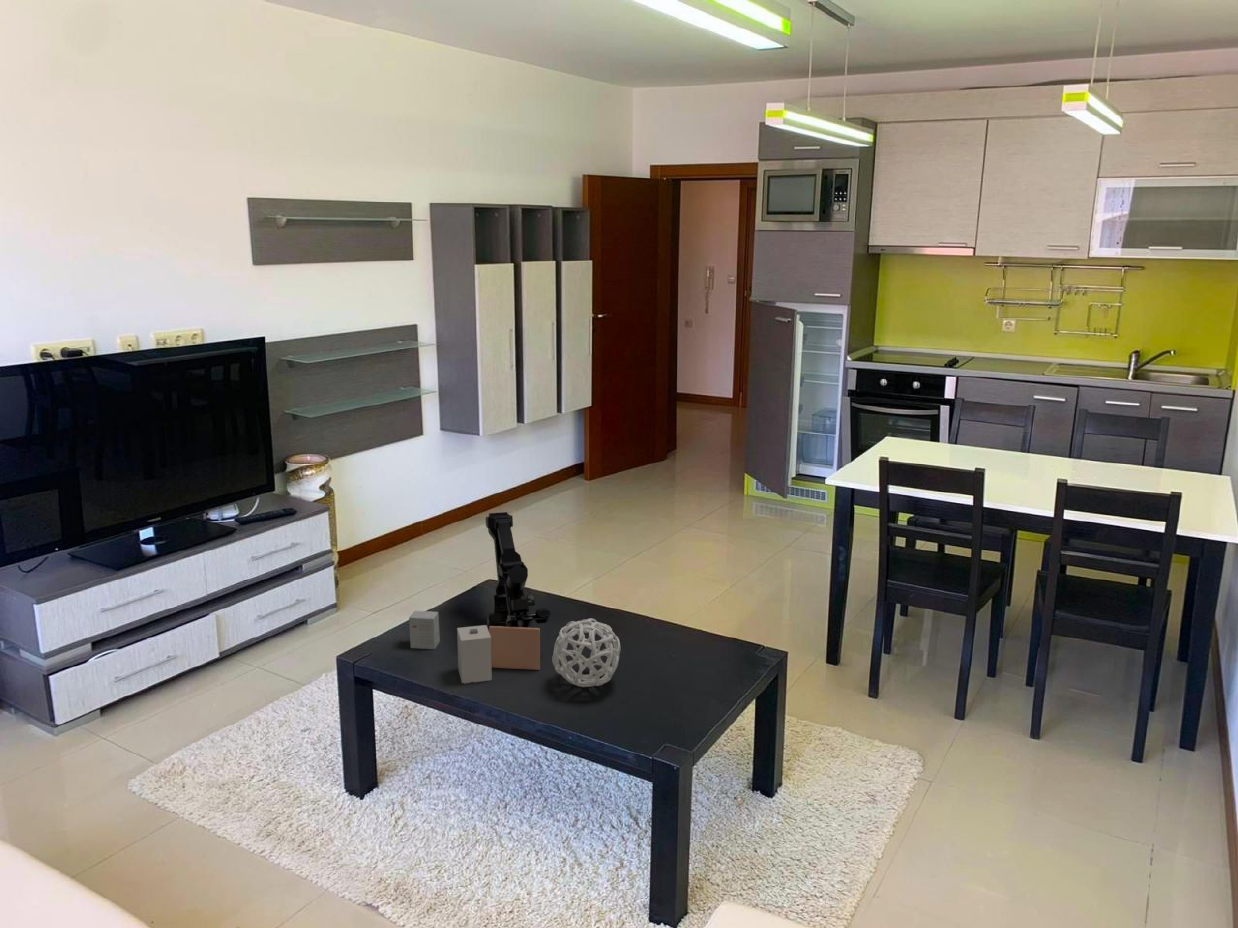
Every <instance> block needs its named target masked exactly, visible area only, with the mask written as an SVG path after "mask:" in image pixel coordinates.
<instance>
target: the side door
mask: <svg viewBox="0 0 1238 928" xmlns="http://www.w3.org/2000/svg"><path fill="white" fill-rule="evenodd" d="M488 631H489V633H490V636H491V664H492V668H493V669H496V668H497V669H514V670H516V669H517V670H536V671H537V670H538V671H539V670H540V669H541V629H540V627H528V628H525V627H521V626H519V627H503V626H490V627H489V629H488Z"/></svg>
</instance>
